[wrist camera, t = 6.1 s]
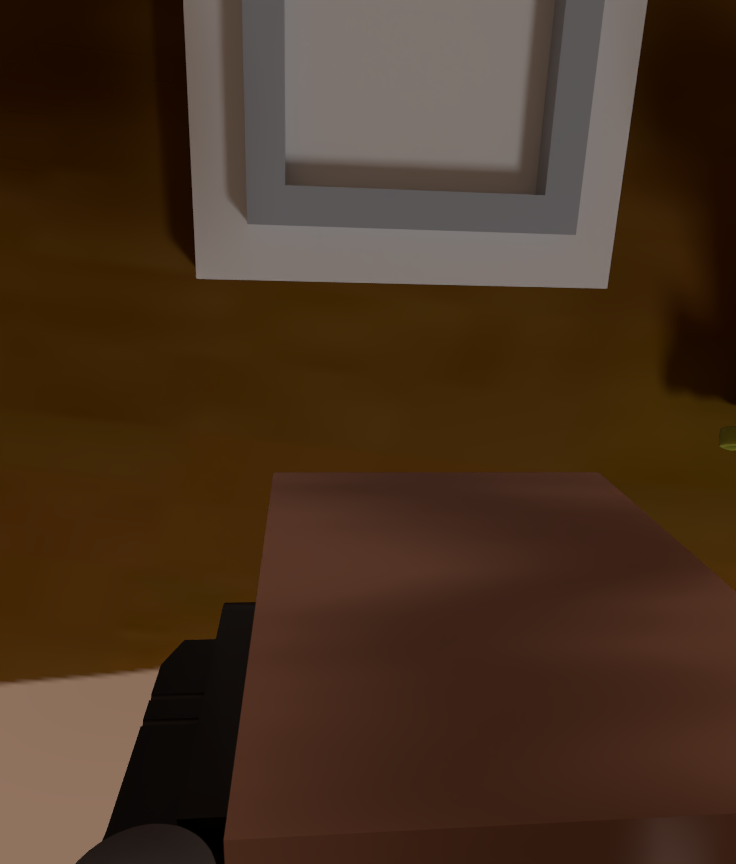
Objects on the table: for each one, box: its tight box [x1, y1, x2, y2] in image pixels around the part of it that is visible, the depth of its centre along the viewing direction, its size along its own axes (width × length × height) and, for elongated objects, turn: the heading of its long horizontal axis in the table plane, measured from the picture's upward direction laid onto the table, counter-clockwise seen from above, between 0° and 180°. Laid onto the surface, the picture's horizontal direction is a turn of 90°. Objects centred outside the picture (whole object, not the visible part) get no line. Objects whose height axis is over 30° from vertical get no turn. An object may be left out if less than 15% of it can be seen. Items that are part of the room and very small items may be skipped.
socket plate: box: [183, 0, 648, 289], centre depth 17 cm, size 12×12×2 cm
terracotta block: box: [224, 473, 736, 864], centre depth 8 cm, size 5×5×6 cm
